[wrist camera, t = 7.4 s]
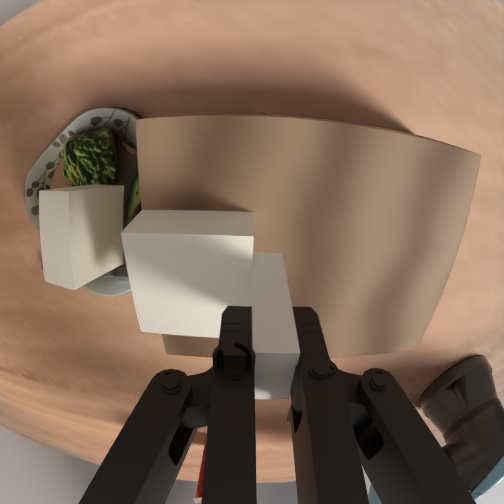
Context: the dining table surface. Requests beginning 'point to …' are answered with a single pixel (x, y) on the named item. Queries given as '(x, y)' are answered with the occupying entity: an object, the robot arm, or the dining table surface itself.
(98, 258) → the tile
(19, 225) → the dining table surface
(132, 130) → the salad plate
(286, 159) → the block
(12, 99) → the dining table surface
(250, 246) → the tile
